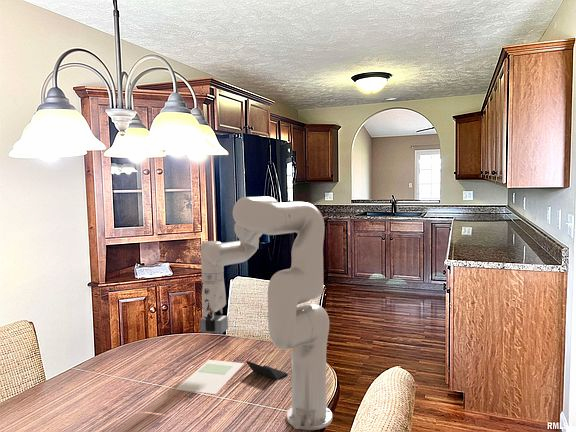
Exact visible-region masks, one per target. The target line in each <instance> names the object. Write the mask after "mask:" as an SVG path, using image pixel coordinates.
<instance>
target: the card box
mask: <svg viewBox="0 0 576 432" xmlns="http://www.w3.org/2000/svg"><path fill="white" fill-rule="evenodd" d="M213 320H215V331H214V332H210V331H206V322H205V317H204V316H202V317H201V318H200V319H199V331H200V333H208V334H217V335H218V334H220V335H222V334H223V333H225V332H226V331H227V330H228V329H229V316H228V315H222V316H219V315H214V319H213Z"/></svg>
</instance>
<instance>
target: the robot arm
mask: <svg viewBox="0 0 576 432" xmlns="http://www.w3.org/2000/svg"><path fill="white" fill-rule="evenodd" d="M232 217H233V220H234V222H235V223H234V233H235V235H236V237H237V239H238V240H235V241H227V242H221V241H220V240H219V241H218V240H207V241H204V242H201V245H200V260H201V261H200V263H201V282H202V288H201V290H202V292H201V307H202V311H201V313H202V316H203V317H205V322H206V331H210V332H214V331H215V320H213V319H214V315H219V316H223V313H224V312H223V308H224V307H225V306H226V305H227V296H226V295H227V294H226V285H225V278H224V276H225V275H224V273H225V272H224V271H225V270H224V269H225V268H224V267H225V266H229V265H235V264H236V265H237V264H241V263H244V262H246V261H248V260H249V259H250V258H251V257H252V256H253V255H254V254H256V252H257V250H258V249H259V244H260V238H261V237H262V235H267V236H277V235H286V234H293V233H296V234H297V236H296V238H295V239H294V241H293V243H292V247H291V253H290V254H291V255H290V256H291V265H290V268H286V269H282V270H278V271H276V272H275V273H274V274H273V275H272V276H271V278H270V280H269V282H268V286H267V317H268V319H267V322H268V334H269V337H270V339H271V342H272V343H273V345H274V346H275V347H276V348H277V349H280V350H282V351H283V350H286V351H287V350H289V349H292V350H291V361H290V362H291V364H290V365H291V366H290V368H291V407H290V408H289V409H288V410H287V412H286V421H287V422H288V424H289V425H291V426H292V427H293V428H294V429H295V430H302V431H315V430H316V431H318V430H321V429H324V428H326V427H328V426H329V425H330V424H331V423H332V421H333V412H332V411H331V410H330V408H328V405H327V404H328V403H327V395H328V394H327V344H328V338H329V331H330V318H329V315H328V314H329V313H328V312H327V310H326V309H325V308H324V307H322V306H321V305H319V304H316V303H308V302H312V301H314V300H316V299H318V298H319V297H321V296H322V294H323V291H324V240H325V229H326V227H325V221H324V217H323V215H322V213H321V211H320V210H319V209H318V207H316V206H315V205H313V204H312V203H311V202H305V201H286V202H284V201H283V202H279V201H278V200H277V199H275V198H274V197H271V196H266V195H263V196H262V195H261V196H259V195H258V196H244V197H243V196H242V197H241V198H239V199H238V200H237V201H236V202H235V203H234V205H233V209H232ZM306 303H307V304H306ZM301 304H303V305H301ZM298 305H299V306H298Z"/></svg>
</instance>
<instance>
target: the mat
mask: <svg viewBox="0 0 576 432" xmlns="http://www.w3.org/2000/svg"><path fill="white" fill-rule="evenodd" d="M244 364H245V363H244V362H236V361H226V360H216V359H215V360H214V359H207V361H206V362H204V363H203V364H202V365H201V366H200V367H199V368H197V369H196V371H194V372H193V373H192V374H190V375H189V376H188V377H187V378H186V379H185V380H184V381H182V382H181V384H179V385H178V386H177V387H176V388H175V390H176V391H177V390H179V391H187V392H194V393H195V392H196V393H202V394H212V395H216V394H217V393H218V392H219V391H220V390H221V389H222V388H223V387H224V386H225V385H226V384H227V383H228V382H229V381H230V379H232V377H233V376H234V375H235V374H236V373H237V372H238V371H239V369H241V367H242V366H243V365H244Z"/></svg>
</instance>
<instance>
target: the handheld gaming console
mask: <svg viewBox="0 0 576 432" xmlns="http://www.w3.org/2000/svg"><path fill="white" fill-rule="evenodd" d="M245 363H246V364H247V365H248V367H249V368H250V369H251V371H252V372H253V373H255V374H258V375H261V376H263V377H267V378H269V379H272V380H274V381H280V380H282V379H284V378H285V377H287V376H288V373H287V372H285V371H283V370H279V369H276V368H273V367H270V366H267V365H259V364H258V363H257V364H256V363H254V362H251V361H248V360H246V362H245Z"/></svg>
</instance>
